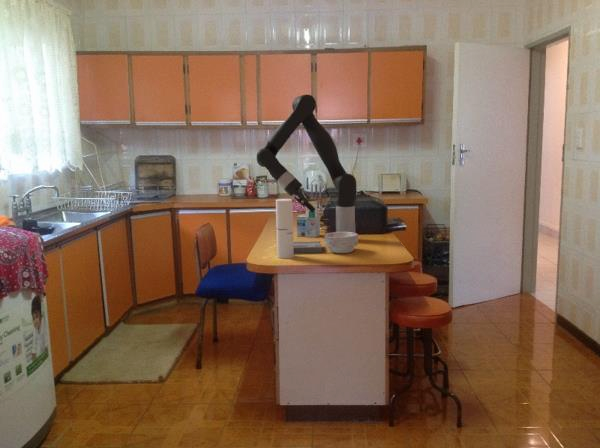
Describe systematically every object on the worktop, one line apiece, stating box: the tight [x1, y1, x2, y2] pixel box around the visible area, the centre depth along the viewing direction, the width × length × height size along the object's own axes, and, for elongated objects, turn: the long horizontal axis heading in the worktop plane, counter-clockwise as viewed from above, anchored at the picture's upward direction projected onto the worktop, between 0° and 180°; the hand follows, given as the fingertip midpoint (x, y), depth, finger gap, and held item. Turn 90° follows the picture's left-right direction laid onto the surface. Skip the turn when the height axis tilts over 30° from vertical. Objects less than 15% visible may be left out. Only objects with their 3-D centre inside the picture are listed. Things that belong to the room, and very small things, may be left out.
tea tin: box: [305, 196, 319, 221], centre depth 247 cm, size 6×6×10 cm
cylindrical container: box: [275, 198, 295, 259], centre depth 237 cm, size 7×7×25 cm
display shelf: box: [293, 240, 323, 254], centre depth 251 cm, size 17×13×4 cm
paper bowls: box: [323, 231, 359, 254], centre depth 246 cm, size 15×15×8 cm
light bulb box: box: [296, 213, 321, 238], centre depth 283 cm, size 11×7×11 cm, turn 68°
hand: (315, 209), depth 246 cm, fingers closed on tea tin, 5 cm apart
